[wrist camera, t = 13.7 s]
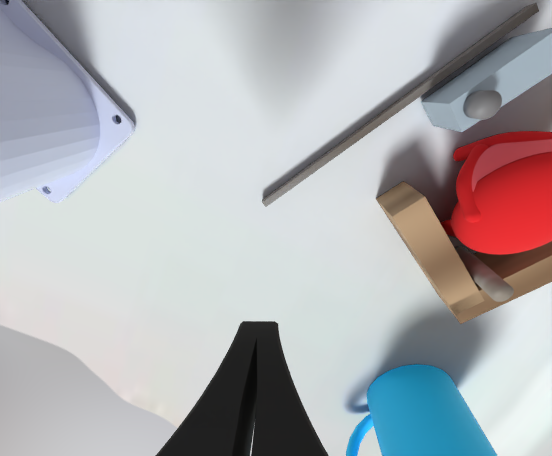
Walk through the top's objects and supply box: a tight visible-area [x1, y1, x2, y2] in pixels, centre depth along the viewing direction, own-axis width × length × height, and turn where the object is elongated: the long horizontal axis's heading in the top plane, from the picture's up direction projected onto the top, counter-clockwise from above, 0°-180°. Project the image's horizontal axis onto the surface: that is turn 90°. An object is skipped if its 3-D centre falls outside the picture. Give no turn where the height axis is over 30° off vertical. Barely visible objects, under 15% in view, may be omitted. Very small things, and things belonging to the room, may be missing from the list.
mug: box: [346, 364, 497, 456], centre depth 24 cm, size 12×8×8 cm
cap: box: [440, 131, 552, 255], centre depth 16 cm, size 8×6×6 cm
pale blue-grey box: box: [421, 28, 552, 132], centre depth 14 cm, size 2×5×4 cm, turn 127°
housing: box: [262, 3, 552, 324], centre depth 17 cm, size 14×20×4 cm
